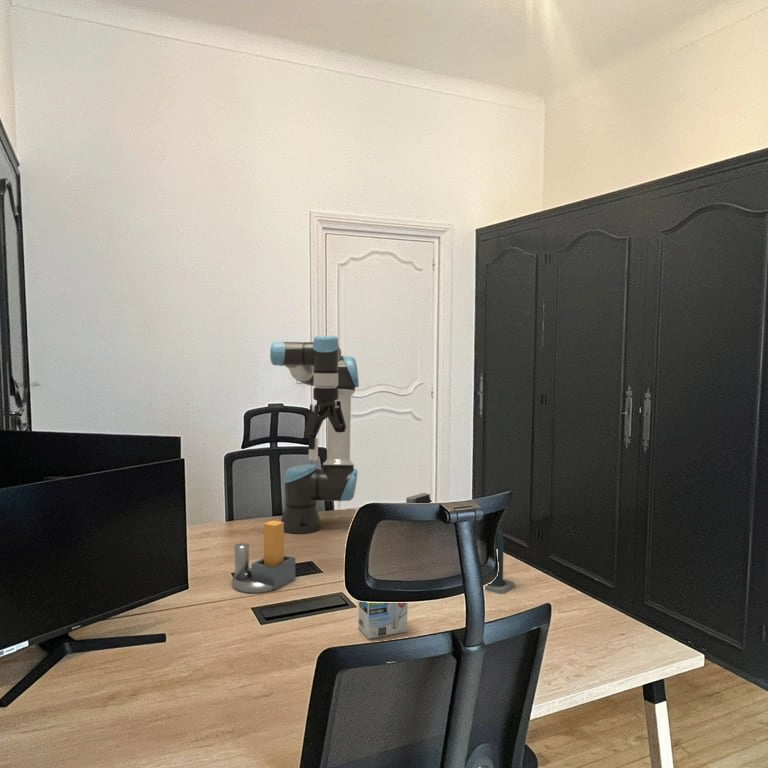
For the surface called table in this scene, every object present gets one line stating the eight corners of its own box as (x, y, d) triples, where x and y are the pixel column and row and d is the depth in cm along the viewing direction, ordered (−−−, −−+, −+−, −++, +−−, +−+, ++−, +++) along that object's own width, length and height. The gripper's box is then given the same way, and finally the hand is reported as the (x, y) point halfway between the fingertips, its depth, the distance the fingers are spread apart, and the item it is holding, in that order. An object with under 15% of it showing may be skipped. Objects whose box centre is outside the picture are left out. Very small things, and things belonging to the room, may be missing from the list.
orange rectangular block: (272, 573, 186) (272, 520, 185) (283, 576, 184) (283, 522, 183) (264, 578, 183) (263, 523, 182) (275, 580, 181) (275, 525, 180)
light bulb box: (368, 640, 149) (368, 595, 148) (357, 628, 155) (357, 585, 154) (408, 631, 154) (409, 588, 153) (396, 620, 160) (396, 578, 159)
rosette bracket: (254, 570, 193) (254, 534, 192) (295, 579, 186) (295, 542, 185) (220, 587, 180) (220, 549, 179) (263, 597, 173) (263, 558, 172)
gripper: (336, 383, 205) (336, 448, 206) (291, 389, 183) (291, 461, 184) (356, 384, 201) (356, 450, 203) (313, 390, 179) (313, 464, 181)
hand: (325, 456), depth 194 cm, fingers open, 13 cm apart
